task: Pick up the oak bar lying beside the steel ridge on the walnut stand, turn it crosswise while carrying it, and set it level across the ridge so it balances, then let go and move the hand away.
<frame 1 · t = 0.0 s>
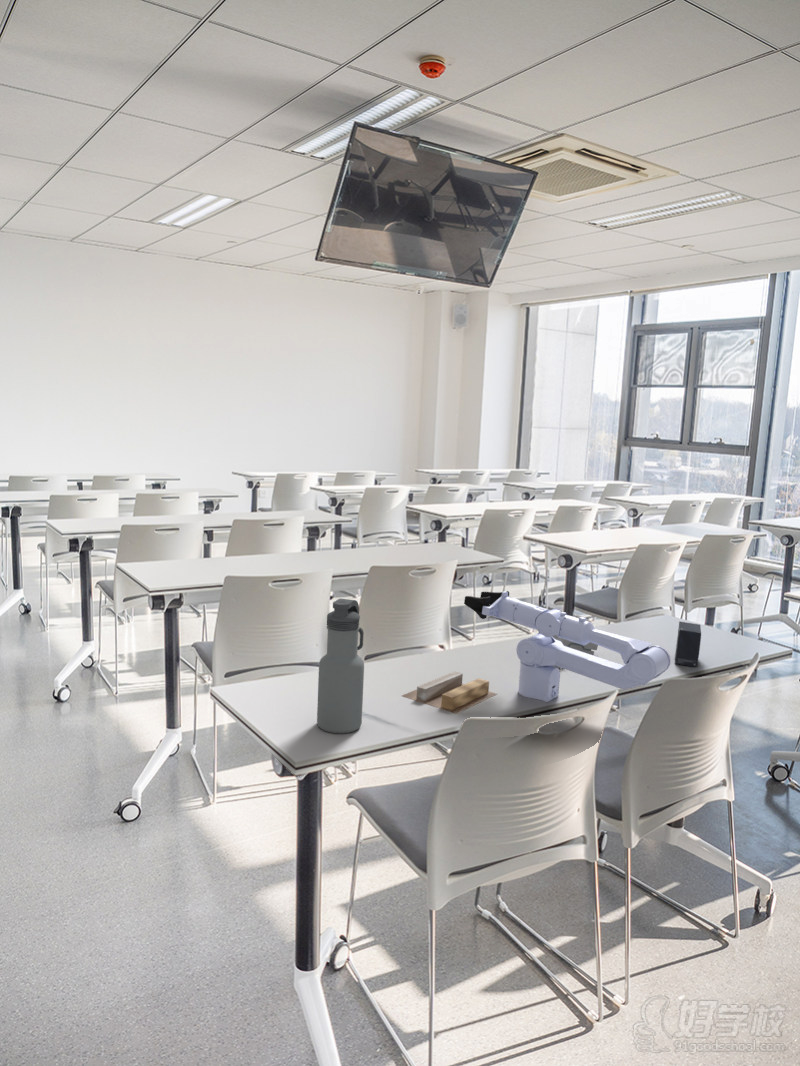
hand: (473, 597, 209), 22 cm above the table, tool horizontal, fingers open, 7 cm apart
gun: (566, 660, 234), on the table
small box: (686, 661, 238), on the table
oak bar: (465, 699, 194), point 1 cm above the table, touching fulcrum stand
water bottle: (339, 726, 178), on the table
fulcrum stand: (449, 698, 197), on the table
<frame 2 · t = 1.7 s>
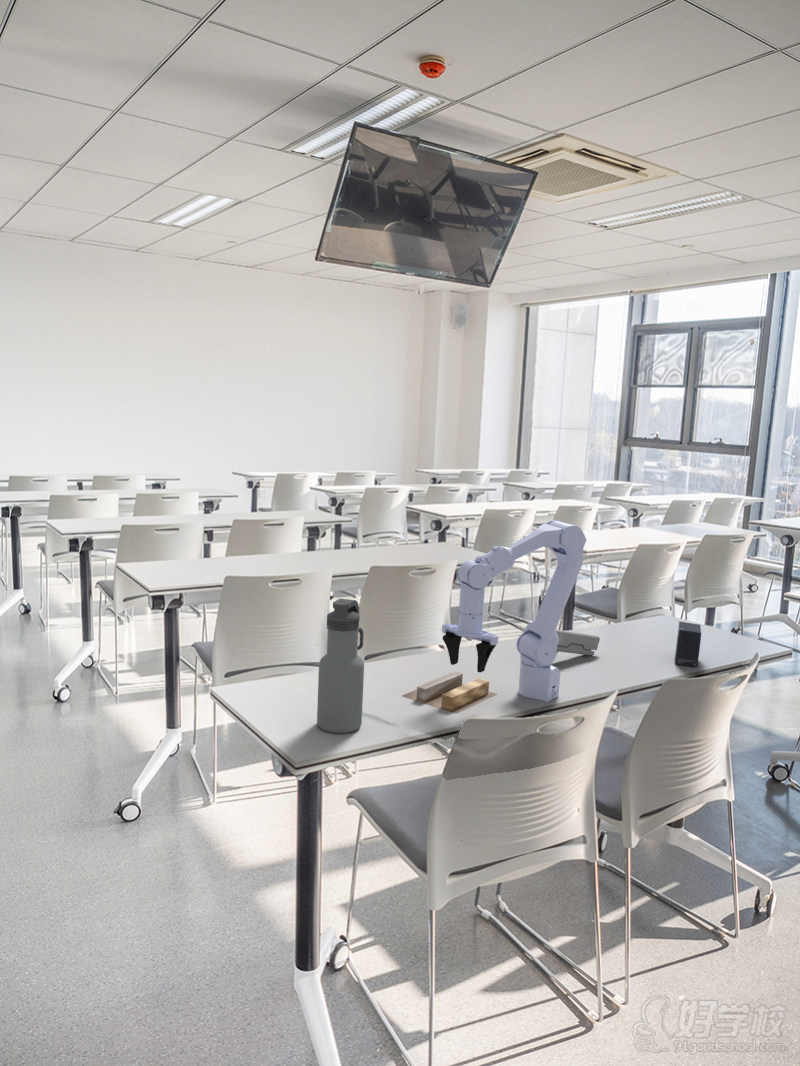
hand: (467, 667, 193), 9 cm above the table, tool pointing down, fingers open, 7 cm apart
nothing on the table moved.
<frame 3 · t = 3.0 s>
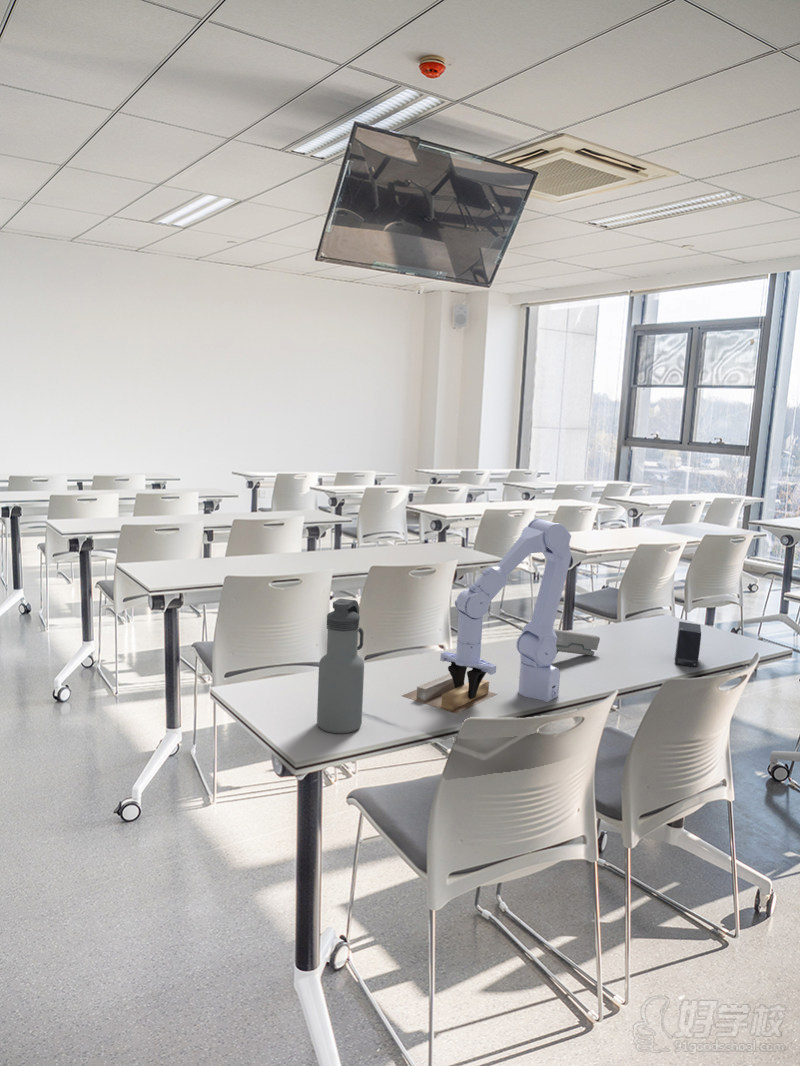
hand: (465, 695, 194), 2 cm above the table, tool pointing down, fingers closed on oak bar, 3 cm apart
oak bar: (465, 699, 194), point 1 cm above the table, touching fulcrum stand, gripper
everything else where it was.
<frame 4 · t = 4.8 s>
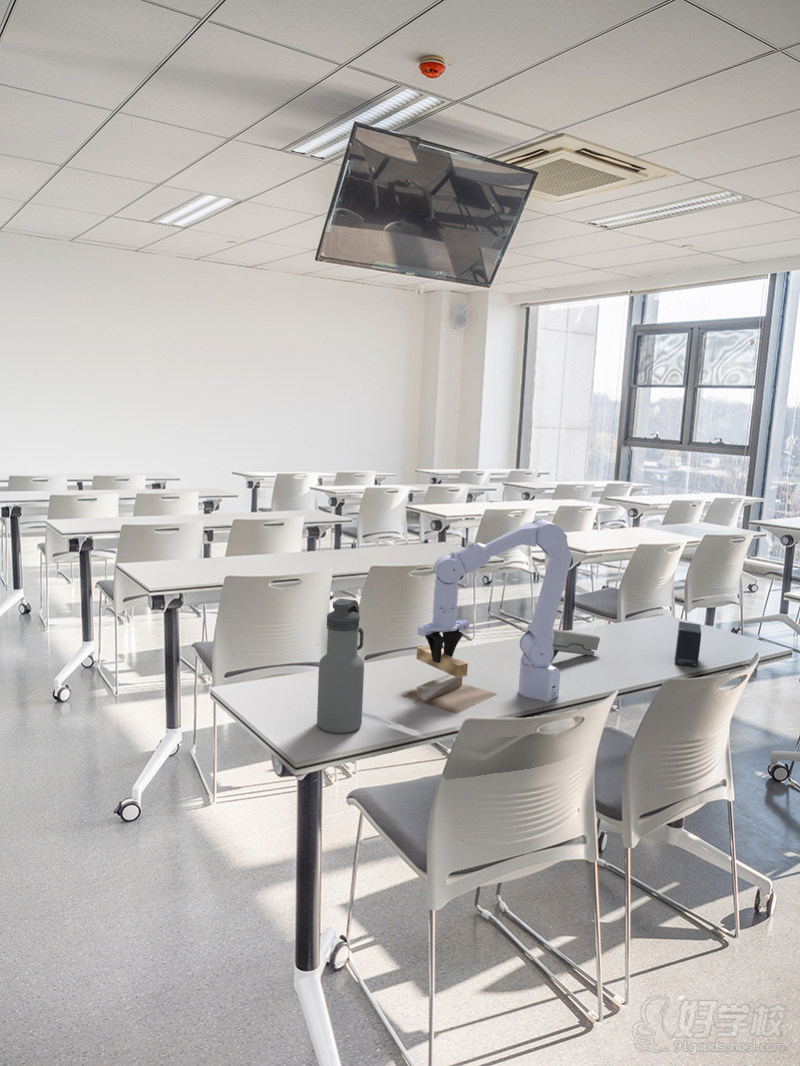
hand: (441, 660, 197), 9 cm above the table, tool pointing down, fingers closed on oak bar, 3 cm apart
oak bar: (440, 667, 198), point 7 cm above the table, touching gripper
everything else where it was.
when the fingers open (6 cm above the table, at t = 6.6 s): oak bar stays where it is, resting on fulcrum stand.
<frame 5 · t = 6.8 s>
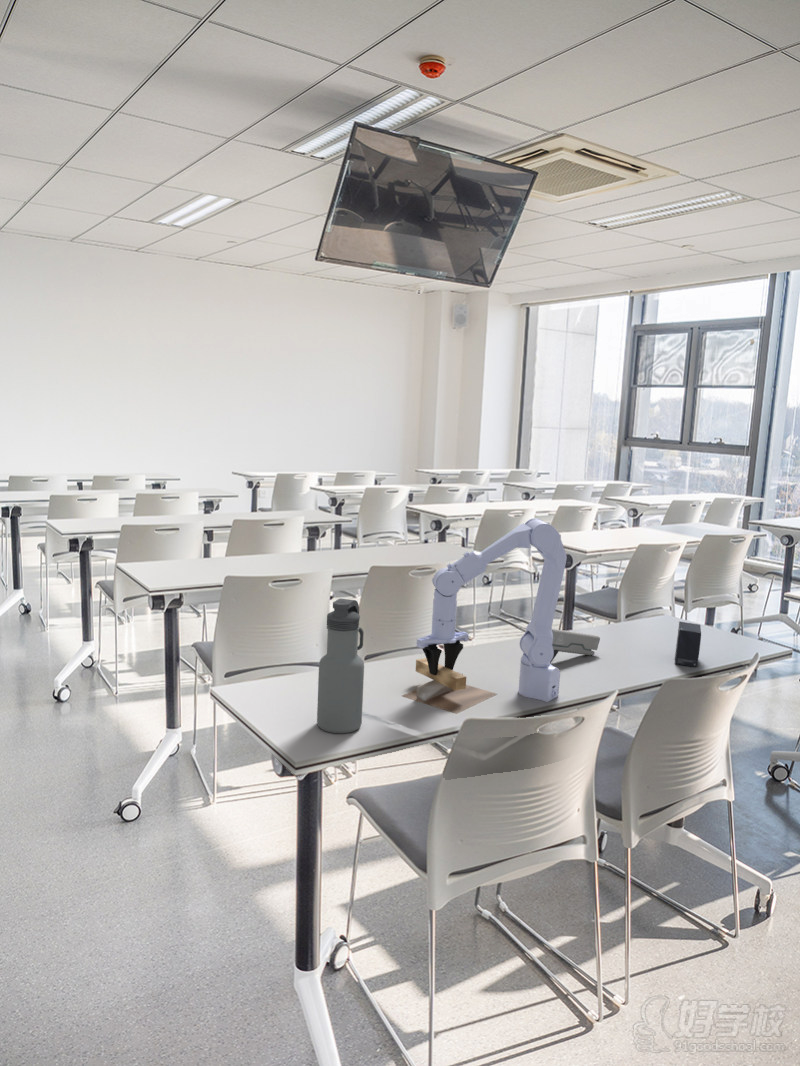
hand: (440, 672, 198), 6 cm above the table, tool pointing down, fingers open, 4 cm apart
oak bar: (439, 679, 198), point 4 cm above the table, touching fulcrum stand
everything else where it was.
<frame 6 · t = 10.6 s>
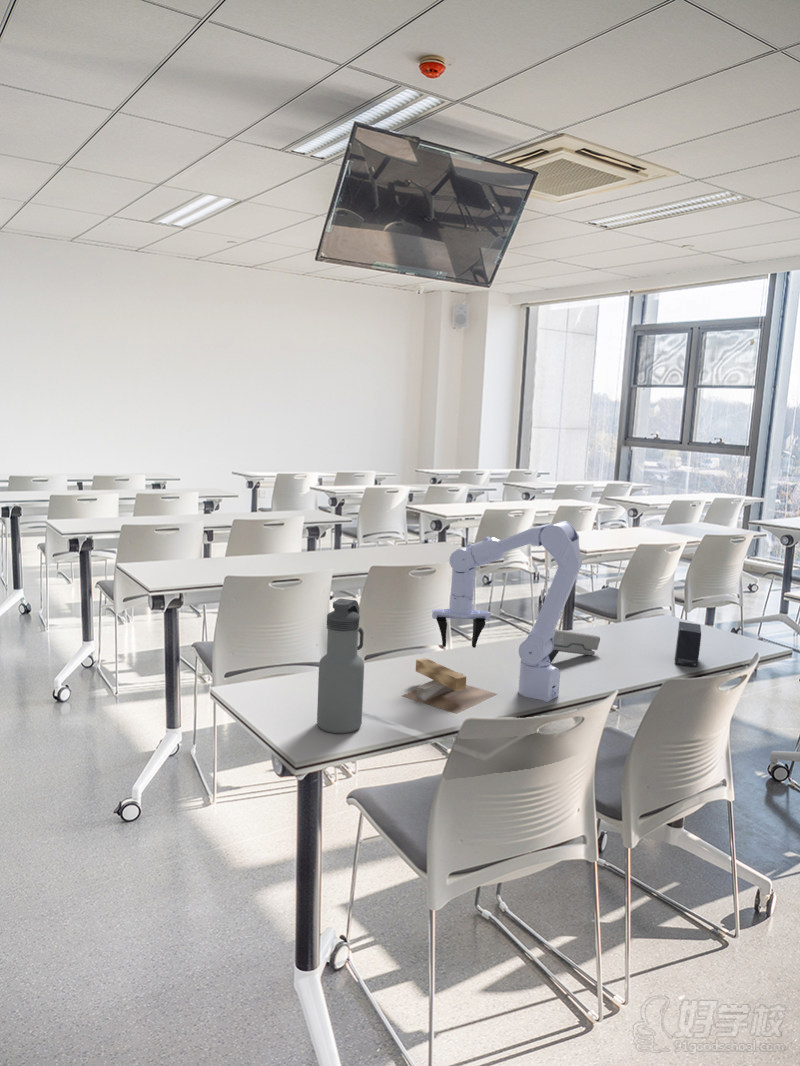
hand: (458, 646, 209), 9 cm above the table, tool pointing down, fingers open, 7 cm apart
nothing on the table moved.
at the end: oak bar 0.2 cm from the target spot on the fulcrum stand, point 4.0 cm above the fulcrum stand's base; oak bar tilted 0°; the gripper is holding nothing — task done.
